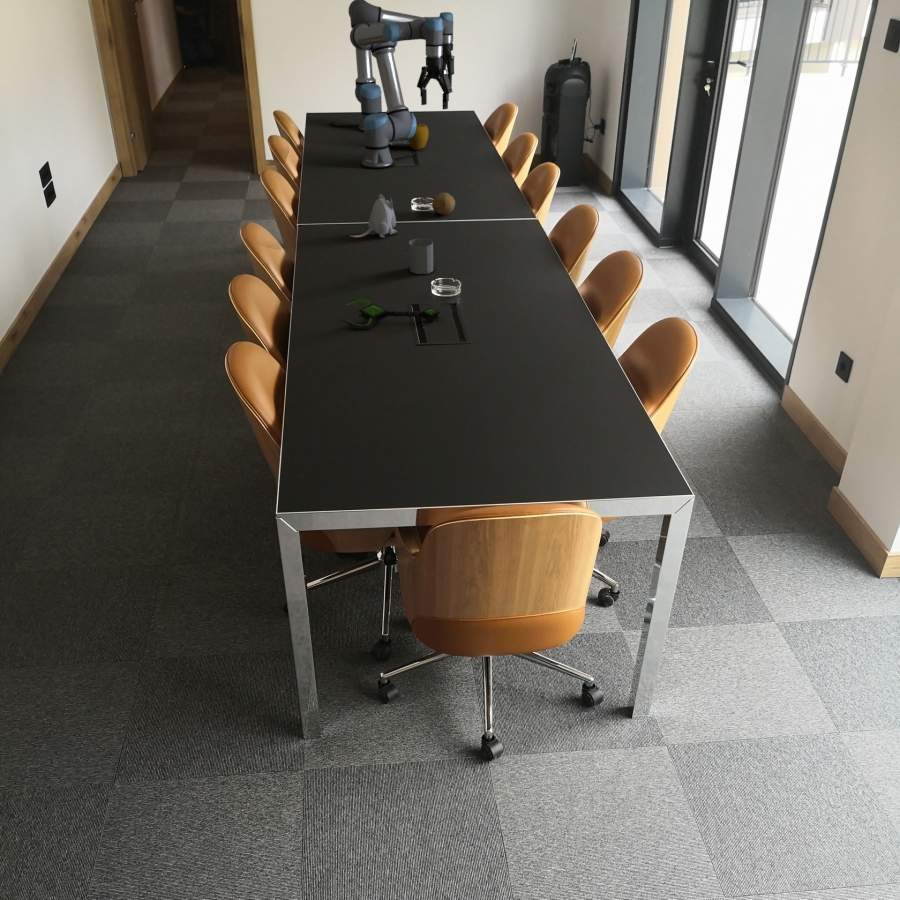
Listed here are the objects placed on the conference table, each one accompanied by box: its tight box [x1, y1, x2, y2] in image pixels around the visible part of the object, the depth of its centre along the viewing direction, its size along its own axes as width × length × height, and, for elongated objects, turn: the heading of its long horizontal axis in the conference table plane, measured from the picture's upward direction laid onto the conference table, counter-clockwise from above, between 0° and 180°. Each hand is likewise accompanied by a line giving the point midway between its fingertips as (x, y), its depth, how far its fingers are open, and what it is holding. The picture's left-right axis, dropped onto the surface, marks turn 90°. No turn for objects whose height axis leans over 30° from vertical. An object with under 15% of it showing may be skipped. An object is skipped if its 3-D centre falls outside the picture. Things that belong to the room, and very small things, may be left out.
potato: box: [431, 192, 456, 216], centre depth 360 cm, size 10×14×8 cm
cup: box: [408, 237, 434, 275], centre depth 305 cm, size 8×8×10 cm
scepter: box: [342, 297, 441, 330], centre depth 270 cm, size 6×13×30 cm
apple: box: [407, 122, 429, 151], centre depth 451 cm, size 11×11×13 cm
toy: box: [350, 193, 398, 239], centre depth 333 cm, size 9×24×15 cm, turn 137°
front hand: (434, 106), depth 395 cm, fingers open, 13 cm apart
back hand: (446, 86), depth 505 cm, fingers closed on canister, 6 cm apart
